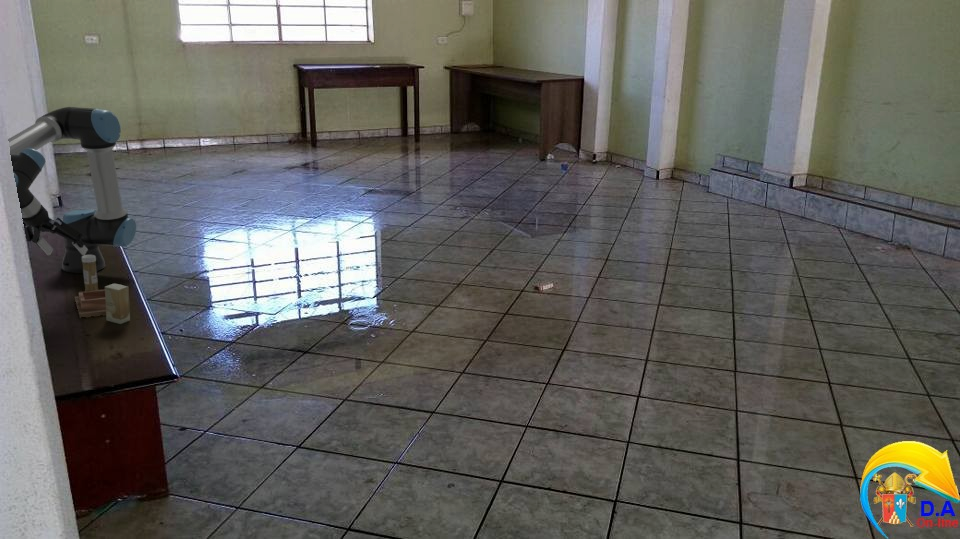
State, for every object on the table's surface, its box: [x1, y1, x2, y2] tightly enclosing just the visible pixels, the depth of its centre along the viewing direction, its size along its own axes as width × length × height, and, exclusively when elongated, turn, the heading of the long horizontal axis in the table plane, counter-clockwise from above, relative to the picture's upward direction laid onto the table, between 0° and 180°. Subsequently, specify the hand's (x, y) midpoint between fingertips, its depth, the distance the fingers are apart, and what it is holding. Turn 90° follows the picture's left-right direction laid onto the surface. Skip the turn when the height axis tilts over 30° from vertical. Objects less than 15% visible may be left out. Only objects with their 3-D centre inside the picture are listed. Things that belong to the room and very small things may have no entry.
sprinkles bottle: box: [82, 255, 100, 292], centre depth 270 cm, size 5×5×13 cm
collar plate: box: [74, 288, 106, 319], centre depth 257 cm, size 18×12×4 cm, turn 32°
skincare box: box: [104, 283, 131, 325], centre depth 246 cm, size 6×4×12 cm
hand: (67, 252), depth 256 cm, fingers open, 13 cm apart
